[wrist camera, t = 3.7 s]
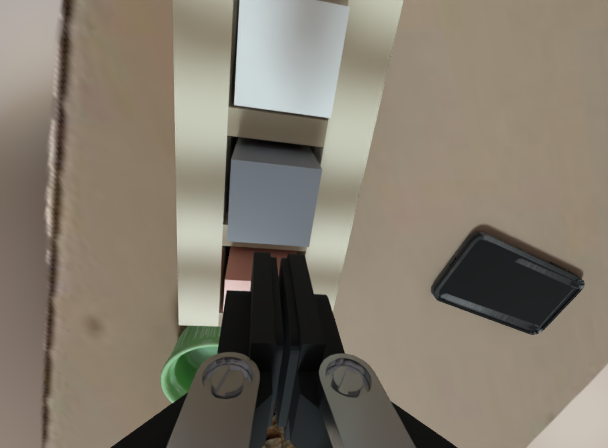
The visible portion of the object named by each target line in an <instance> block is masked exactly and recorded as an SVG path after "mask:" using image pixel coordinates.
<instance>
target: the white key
mask: <svg viewBox="0 0 608 448" xmlns="http://www.w3.org/2000/svg"><path fill="white" fill-rule="evenodd" d="M349 11H350V7H349V6H344V5H339V4H334V3H328V2H323V1H318V0H240V2H239V21H238V40H237V59H236V78H235V97H234V105H238V106H245V107H252V108H259V109H267V110H274V111H281V112H289V113H296V114H303V115H311V116H318V117H325V118H331V116H332V110H333V104H334V98H335V92H336V86H337V81H338V75H339V69H340V63H341V57H342V52H343V46H344V40H345V34H346V28H347V22H348V17H349Z"/></svg>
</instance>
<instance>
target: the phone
mask: <svg viewBox="0 0 608 448" xmlns="http://www.w3.org/2000/svg"><path fill="white" fill-rule="evenodd" d="M464 245H465V246H464ZM455 257H456V260H455V261H454V262H453V264H452V265H451V266H450V264H451V263H452V261H453V260H454V259H455ZM583 287H584V280H582V279H581V278H579V277H578V276H576V275H575V274H573V273H572V272H570V271H566V270H565V269H563V268H561V267H559V266H558V267H557V265H555V264H553V263H551V262H550V263H549V262H547V261H545V260H542V259H540V258H538V257H536V256H534V255H532V254H529V253H527V252H525V251H523V250H521V249H519V248H517V247H514V246H512V245H510V244H508V243H506V242H504V241H501V240H499V239H497V238H495V237H493V236H491V235H489V234H486V233H484V232H475V233H473V234H471V235H470V236H469V237H468V238H467V239H466V240H465V242H464V243H463V244H462V246H461V247H460V248H459V250H458V251H457V252H456V254H455V255H454V256H453V258H452V259H451V260H450V262H449V263H448V264H447V266H446V267H445V268H444V270H443V271H442V272H441V274H440V275H439V276H438V278H437V279H436V280H435V282H434V283H433V285H432V287H431V293H432V294H433V295H434V297H435V298H436V299H437V300H438V301H440V302H443V303H446V304H449V305H451V306H454V307H457V308H460V309H462V310H465V311H468V312H470V313H473V314H476V315H479V316H481V317H484V318H487V319H490V320H492V321H495V322H498V323H501V324H503V325H506V326H509V327H511V328H514V329H517V330H520V331H522V332H525V333H528V334H531V335H534V334H538V333H540V332H542V331H543V330H544V329H545V328H546V327H547V326H548V325H549V324H550V323H551V322H552V321H553V320H554V319H555V318H556V317H557V316H558V315H559V314H560V312H561V311H562V310H563V309H564V308H565V307H566V306H567V305H568V304H569V303H570V302H571V301H572V300H573V299H574V298H575V297H576V296H577V295H578V294H579V293H580V292H581V290H582V289H583Z"/></svg>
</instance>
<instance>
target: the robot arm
mask: <svg viewBox="0 0 608 448" xmlns="http://www.w3.org/2000/svg"><path fill="white" fill-rule="evenodd" d="M275 404H276V424H277V427H284V440H285V441H290V443H291V444H292V445H293V446H294V447H295V448H457V447H456V446H455V445H453V444H452V443H450V442H449V441H447V440H446V439H444V438H443V437H442V436H440V435H439V434H437V433H436V432H434V431H433V430H431V429H430V428H429V427H427V426H426V425H424V424H423V423H421V422H420V421H418V420H417V419H416V418H414V417H413V416H411V415H410V414H408V413H407V412H405V411H404V410H403V409H401V408H400V407H398V406H397V405H395V404H394V403H392V402H391V401H390V399H389V397H388V396H387V394H386V392H385V390H384V388H383V386H382V385H381V383H380V381H379V379H378V377H377V375H376V374H375V372H374V371H373V369H372V368H371V367H370V366H369V365H368V364H367V363H366V362H365V361H363V360H362V359H360V358H358V357H356V356H353V355H349V354H345V353H344V349H343V346H342V342H341V339H340V336H339V332H338V329H337V325H336V322H335V319H334V315H333V312H332V308H331V305H330V302H329V298H328V296H327V295H326V294H314V292H313V288H312V284H311V279H310V275H309V271H308V267H307V262H306V258H305V255H300V254H288V255H287V258H281V262H280V270H279V277H278V267H277V257H271V253H269V252H254V255H253V265H252V276H251V287H250V291H234V290H227V291H226V298H225V304H224V311H223V318H222V325H221V331H220V338H219V345H218V351H217V354H216V355H214V356H212V357H210V358H208V359H207V360H206V361H204V362H203V363H202V364H201V365H200V367H199V368H198V370H197V372H196V374H195V377H194V379H193V382H192V384H191V387H190V389H189V392H187V393H186V394H185V395H183V396H182V397H180V398H179V399H178V400H176V401H175V402H173V403H172V404H171V405H169V406H168V407H167V408H165V409H164V410H162V411H161V412H160V413H158V414H157V415H155V416H154V417H153V418H151V419H150V420H148V421H147V422H146V423H144V424H143V425H141V426H140V427H139V428H137V429H136V430H135V431H133V432H132V433H130V434H129V435H128V436H126V437H125V438H123V439H122V440H121V441H119V442H118V443H116V444H115V445H114V446H112V447H111V448H262V447H263V446H264V444H265V441H266V435H267V428H268V427H271V425H272V419H273V412H274V406H275Z"/></svg>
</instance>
